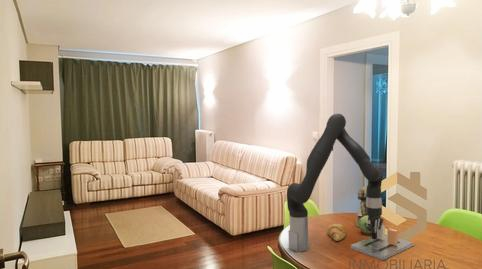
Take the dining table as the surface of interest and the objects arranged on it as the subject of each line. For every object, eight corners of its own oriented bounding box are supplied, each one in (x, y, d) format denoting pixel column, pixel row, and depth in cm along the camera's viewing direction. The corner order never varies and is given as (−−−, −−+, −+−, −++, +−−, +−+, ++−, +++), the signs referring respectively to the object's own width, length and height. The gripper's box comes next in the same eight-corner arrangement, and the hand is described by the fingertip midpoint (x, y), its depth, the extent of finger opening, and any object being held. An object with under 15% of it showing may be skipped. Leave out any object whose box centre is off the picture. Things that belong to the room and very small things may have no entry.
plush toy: (350, 227, 198) (359, 186, 196) (349, 220, 211) (358, 182, 209) (375, 234, 194) (385, 192, 192) (373, 227, 208) (382, 187, 205)
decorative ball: (379, 236, 185) (379, 218, 184) (360, 236, 187) (359, 218, 186) (375, 230, 195) (375, 213, 194) (357, 230, 197) (357, 213, 196)
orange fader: (395, 245, 167) (394, 231, 166) (387, 243, 170) (387, 229, 170) (397, 244, 168) (397, 230, 168) (390, 241, 171) (390, 228, 171)
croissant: (342, 249, 179) (350, 236, 177) (325, 239, 180) (332, 227, 179) (340, 234, 199) (347, 222, 198) (324, 225, 201) (331, 214, 200)
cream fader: (382, 239, 174) (382, 226, 174) (375, 237, 178) (375, 224, 177) (384, 238, 176) (384, 225, 175) (377, 236, 179) (377, 223, 179)
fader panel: (383, 260, 156) (383, 256, 156) (350, 248, 171) (350, 244, 170) (413, 246, 171) (413, 242, 171) (380, 236, 186) (380, 232, 185)
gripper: (372, 209, 165) (373, 244, 167) (388, 204, 173) (388, 237, 174) (359, 206, 172) (360, 239, 173) (374, 201, 179) (375, 233, 180)
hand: (374, 238), depth 173 cm, fingers closed
